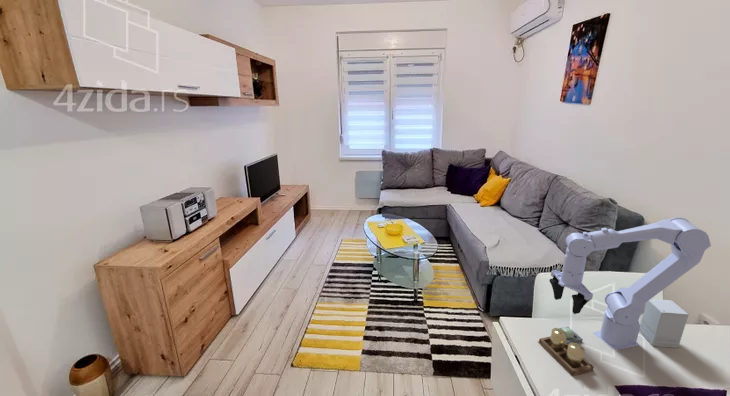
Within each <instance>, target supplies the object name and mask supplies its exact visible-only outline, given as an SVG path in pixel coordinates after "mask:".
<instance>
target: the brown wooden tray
mask: <svg viewBox="0 0 730 396" xmlns="http://www.w3.org/2000/svg"><path fill="white" fill-rule="evenodd" d="M550 339H551V335H550V336H546V337H541V338H539V340H538V341H537V343H538V345H540V346H541V347H542V348H543V349H544V350H545V351H546V352H547V353H548V354H549V355H550V356H551V357H552V358H553V360H554V361H556V362H557V364H559V365H560V366H561V367H562V368H563V369H564V370H565V371H566V372H567V373H568V374H569V375H570V377H576V376H580V375H583V374H588V373H592V372H593V373H594V372H595V370H594V368H595V367H594V366H593V364H591V363H590V362H589V361H588V360H587V359H586V358H585V357H583V359H582V363H581V367H578V368H574V369H573V368H572V367H571V366H570V365H569V364H568V363H567V362H566V361H565V358H566V353H567V349H568V343H567V342H565V347H564V351H561V352H555V351H554V350H553V349H552V348H551V347H550V346H549V345H550Z"/></svg>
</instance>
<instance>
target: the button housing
mask: <svg viewBox="0 0 730 396" xmlns="http://www.w3.org/2000/svg"><path fill="white" fill-rule="evenodd" d="M565 327H566V328H570V327H569V326H565ZM562 328H563V327H560V328H559V329H562ZM566 342H567V343H568V344H569V343H571V342H574V343H578V344H579V343H581V342H583V338H582V337H581V336H580V335H578V334H577V332H575V331H574V338H573V339H569V340H566Z"/></svg>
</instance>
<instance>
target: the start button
mask: <svg viewBox="0 0 730 396" xmlns="http://www.w3.org/2000/svg"><path fill="white" fill-rule="evenodd" d="M566 327H567V326H565V327H561V328H562V330H564V331H565V332H566V333H567V337H566V340H569V339H574V338H575V337H574V332H575V330H573V329H572V328H570V327H569V328H566Z"/></svg>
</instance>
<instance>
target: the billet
mask: <svg viewBox="0 0 730 396" xmlns="http://www.w3.org/2000/svg"><path fill="white" fill-rule="evenodd" d="M585 350H586V349H585V347H583V345H581V344H580V343H579V342H578V343H574V342H571V343H569V344H568V349H567V353H566V358H565V361H566V362H567V363H568V364H569V365H570V366H571V367H572V368H573V369H574V368H578V367H581V363H582V359H583V358H584V354H585Z"/></svg>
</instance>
